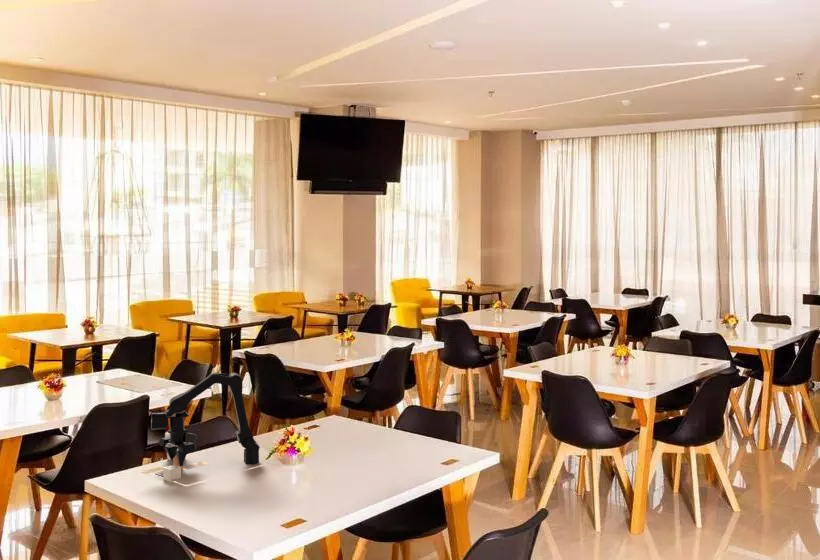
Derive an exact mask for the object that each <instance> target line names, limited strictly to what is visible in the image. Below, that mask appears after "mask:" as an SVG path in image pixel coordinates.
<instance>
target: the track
mask: <svg viewBox="0 0 820 560" xmlns="http://www.w3.org/2000/svg"><path fill="white" fill-rule="evenodd" d="M209 464H210V463H208V462H206V461H203V460H202V461H198V462H194V463H191V464H187V465H186V464H185V465H183V469H182V470H181V472H183V471H186V470H190V469H193V468H198V467H203V466H207V465H209ZM154 475H155V476H158V477H161V478H163V470H162V471H158V472H156V473H154Z"/></svg>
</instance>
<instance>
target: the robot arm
mask: <svg viewBox="0 0 820 560" xmlns="http://www.w3.org/2000/svg"><path fill="white" fill-rule="evenodd" d="M215 384H219V385H223V386H228V388H229V390H230V392H231V394H232V398H233V399H232V400H233V403H234V408H235V413H236V419H237V422H238V430H235V434H236V440H237V442H238V444H240V445H241V446H242V447H243V448H244V449H243V463H244V464H245V465H251V466H252V465H253V466H254V465H257V464H259V463H260V449H261V448H260V445H259V444H258V442H257V441H256V440H255V438H254V436H253V433H252V431H251V428H250V426H249V422H248V417H247V413H246V408H245V403H244V402H245V401H244V398H243V379H242V377H241V376H240V375H239V374H238V373H237V372H231V373H230V374H229V373H220V372H218V373H217V372H215V371H214V372H211V373H210V374H208V375H207V377H204V379H202V380H201V381H199V382H198V383H197V384H195V385H194V386H192V387H191V388H190V389H188V390H186V391H184V392H182V393H179V394H177V395H175V396H173V397H171V398H170V399H169V404H168V406H167V408H166V409H165V411H164V412H151V419H150V430H151V431H153V430H154V431H155V430H165V429H166V428H167V427H169V429H168V430H167V432H168V433H170V437H165V436H164V437H161V438H160V439H159V446H161V447H163V449H164V450H165V452H166V454H167V453H168V455H169V457H170V459H171V460H170V461H171V463H172V464H173V457H175V456H176V455H177V458H178V461H179V464H180V466H184V464H185V460H186V457H187V454H188V453H190V452H192V451H196V450H197V445H196V444H195V443H196V441H197V438H198V435H197V434H195V433H191V432H190V430H188V429H185V418H188V417H189V416H190V415H189V413H188V412H187V411H186V410H184V409H185V408H186V407H188V405H189V404H190V403H191V402H192V401H193V400H194V399H196V398H197V397H198V396H199V395H201V394H203V393H204V392H205V391H207V390H208V389H209V388H211V387H212V386H213V385H215ZM184 442H186V443H184ZM177 449H178V451H177Z"/></svg>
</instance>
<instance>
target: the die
mask: <svg viewBox="0 0 820 560" xmlns="http://www.w3.org/2000/svg"><path fill="white" fill-rule="evenodd" d="M162 471H163V475H162V476H163V477H162V479H164V481H166V480H167V482H170V483H171V482H176V480H177V479H180V478H182V471H181V467H179V466H176V465H173V464H172V465H168V466H163V469H162Z"/></svg>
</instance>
